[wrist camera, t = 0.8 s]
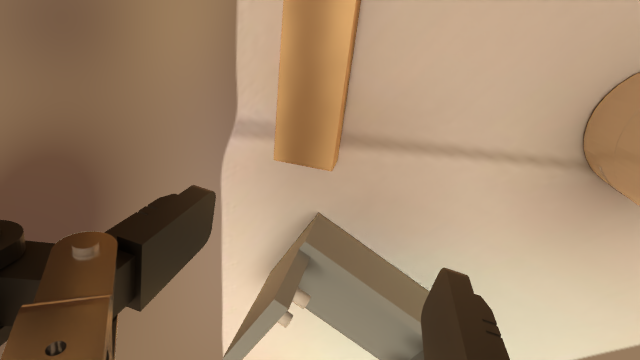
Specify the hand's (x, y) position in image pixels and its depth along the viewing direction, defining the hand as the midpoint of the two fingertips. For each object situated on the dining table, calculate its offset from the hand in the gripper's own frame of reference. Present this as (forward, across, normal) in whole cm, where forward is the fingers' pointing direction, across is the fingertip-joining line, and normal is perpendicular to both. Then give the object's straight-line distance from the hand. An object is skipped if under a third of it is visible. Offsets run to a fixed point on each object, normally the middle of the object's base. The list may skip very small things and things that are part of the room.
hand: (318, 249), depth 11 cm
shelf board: (+19, +5, -3) cm, 20 cm away
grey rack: (+19, -5, +17) cm, 26 cm away
